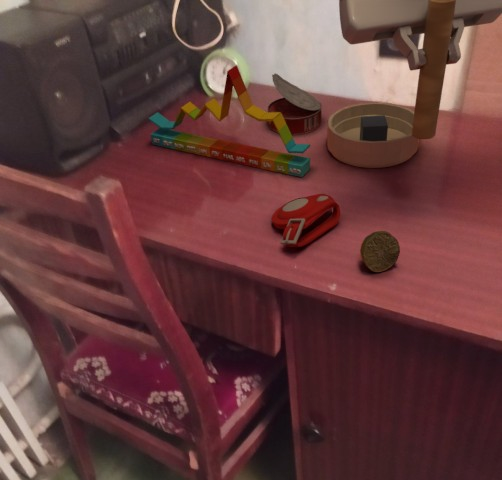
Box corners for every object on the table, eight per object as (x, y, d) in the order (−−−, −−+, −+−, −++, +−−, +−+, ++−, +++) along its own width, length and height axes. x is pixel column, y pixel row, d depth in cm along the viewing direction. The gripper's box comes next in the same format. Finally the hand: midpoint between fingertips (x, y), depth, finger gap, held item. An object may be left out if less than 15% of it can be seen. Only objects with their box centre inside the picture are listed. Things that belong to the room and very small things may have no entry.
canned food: (286, 135, 115) (295, 80, 112) (327, 142, 110) (339, 85, 106) (248, 127, 107) (258, 69, 104) (291, 135, 101) (303, 73, 98)
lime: (401, 262, 76) (406, 230, 73) (382, 281, 74) (385, 249, 70) (372, 250, 79) (375, 219, 75) (352, 268, 76) (354, 236, 73)
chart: (151, 144, 106) (134, 58, 96) (162, 137, 108) (146, 52, 98) (301, 178, 94) (300, 83, 83) (310, 169, 96) (310, 75, 85)
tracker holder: (261, 206, 86) (323, 179, 86) (271, 232, 89) (332, 206, 88) (278, 234, 76) (349, 204, 76) (289, 263, 78) (358, 233, 78)
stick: (429, 127, 78) (448, -8, 67) (439, 137, 76) (461, -1, 64) (407, 131, 77) (424, -4, 66) (417, 141, 75) (436, 3, 64)
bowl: (410, 125, 105) (413, 100, 101) (425, 166, 94) (429, 140, 91) (325, 129, 106) (325, 104, 103) (330, 171, 95) (330, 144, 92)
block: (383, 137, 101) (385, 115, 98) (385, 148, 98) (388, 125, 95) (359, 138, 101) (360, 116, 98) (361, 149, 98) (363, 126, 95)
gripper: (335, -55, 66) (361, 64, 65) (503, -78, 68) (528, 38, 68) (322, -19, 72) (345, 90, 72) (476, -41, 74) (499, 65, 74)
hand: (435, 64), depth 70 cm, fingers closed on stick, 3 cm apart
